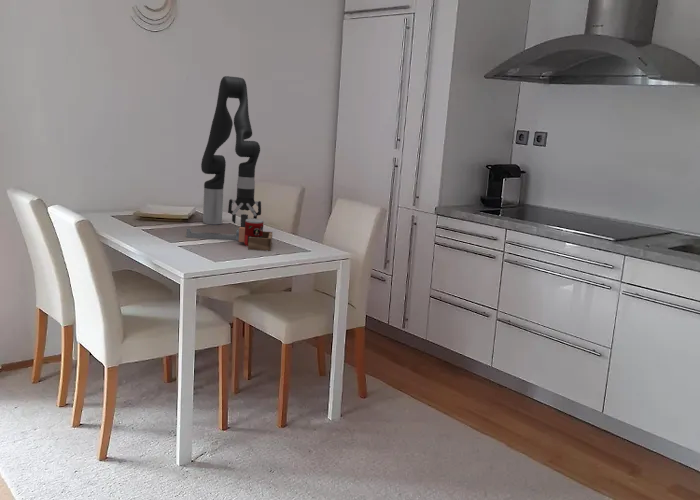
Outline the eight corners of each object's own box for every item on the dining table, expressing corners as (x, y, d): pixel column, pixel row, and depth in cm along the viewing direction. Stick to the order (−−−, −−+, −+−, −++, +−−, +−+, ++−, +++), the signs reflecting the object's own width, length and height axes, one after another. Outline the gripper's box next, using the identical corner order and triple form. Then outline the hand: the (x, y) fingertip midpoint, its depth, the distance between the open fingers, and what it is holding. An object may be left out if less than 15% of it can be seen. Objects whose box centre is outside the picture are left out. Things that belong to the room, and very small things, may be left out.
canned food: (247, 247, 280) (248, 221, 278) (242, 243, 287) (243, 218, 285) (264, 247, 283) (266, 221, 281) (259, 243, 290) (260, 218, 288)
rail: (187, 235, 293) (187, 227, 292) (256, 240, 295) (256, 232, 295) (186, 237, 290) (186, 229, 289) (255, 241, 293) (256, 233, 292)
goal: (250, 241, 291) (251, 230, 290) (271, 243, 292) (272, 231, 291) (248, 249, 277) (248, 237, 276) (270, 250, 277) (270, 239, 276)
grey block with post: (237, 237, 296) (238, 213, 293) (250, 238, 296) (251, 214, 294) (234, 243, 283) (235, 218, 281) (248, 244, 284) (249, 219, 281)
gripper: (262, 187, 293) (260, 223, 296) (230, 184, 291) (228, 221, 295) (261, 189, 285) (259, 226, 289) (228, 187, 284) (226, 224, 288)
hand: (244, 223), depth 292 cm, fingers open, 8 cm apart
